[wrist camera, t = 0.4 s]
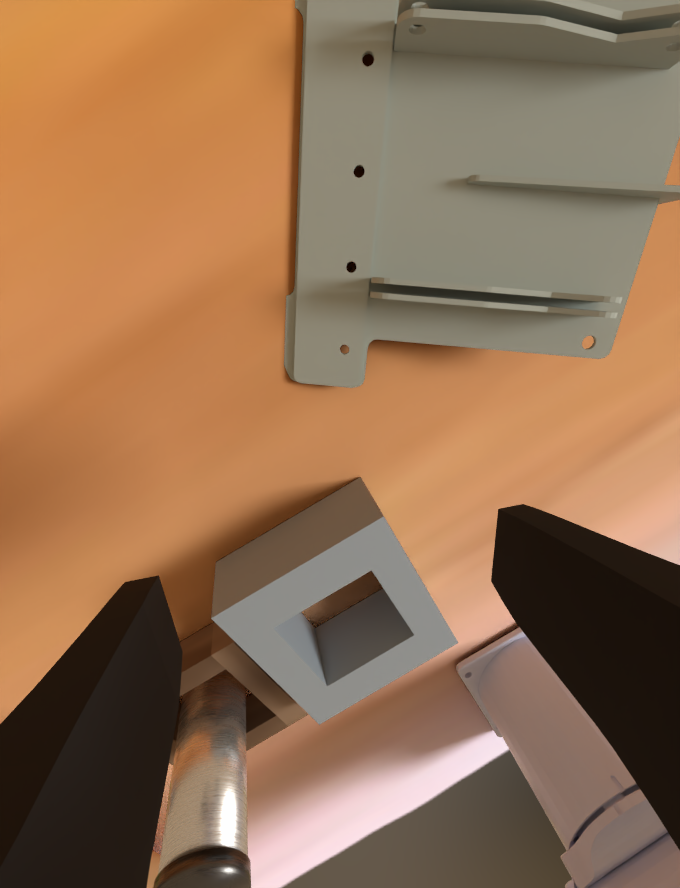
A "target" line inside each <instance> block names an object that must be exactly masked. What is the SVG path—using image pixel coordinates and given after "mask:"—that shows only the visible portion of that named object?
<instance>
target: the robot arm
mask: <svg viewBox="0 0 680 888" xmlns="http://www.w3.org/2000/svg"><path fill="white" fill-rule="evenodd" d="M491 582H492V583H493V585H494V587H495V589H496V590H497V592H498V594H499V596H500V597H501V599H502V601H503V602H504V604H505V606H506V607H507V609H508V611H509V612H510V614H511V615H512V617H513V619H514V620H515V622H516V623H517V624H518V626H519V628H517V629H515V630H514V631H512V632H510V633H508V634H507V635H505V636H503V637H502V638H500V639H498V640H497V641H495V642H493V643H491V644H490V645H488V646H486V647H485V648H483V649H481V650H480V651H478V652H476V653H474V654H473V655H471V656H469V657H468V658H466V659H464V660H463V661H461V662H459V663H458V664H457V666H456V670H457V672H458V674H459V676H460V677H461V679H462V681H463V682H464V684H465V685H466V687H467V688H468V690H469V692H470V693H471V695H472V696H473V698H474V700H475V701H476V703H477V704H478V706H479V708H480V709H481V711H482V712H483V714H484V716H485V717H486V719H487V720H488V722H489V724H490V725H491V727H492V728H493V730H494V732H495V733H496V735H497V736H498V737H503V739H504V740H505V742H506V744H507V746H508V747H509V749H510V751H511V753H512V755H513V756H514V758H515V760H516V762H517V763H518V765H519V767H520V769H521V770H522V772H523V774H524V775H525V777H526V779H527V781H528V783H529V785H530V786H531V788H532V790H533V791H534V793H535V795H536V797H537V799H538V800H539V802H540V804H541V806H542V807H543V809H544V811H545V813H546V815H547V816H548V818H549V820H550V822H551V823H552V825H553V827H554V828H555V830H556V832H557V834H558V836H559V837H560V839H561V841H562V843H563V844H564V846H565V848H566V850H567V851H566V852H565V853H564V854H563V855H562V856H561V859H562V860H563V863H564V865H565V866H566V868H567V870H568V872H569V873H570V875H571V877H572V880H571V881H569V882H568V883H567V884H566V885H565V888H680V565H677V564H675V563H672V562H669V561H667V560H664V559H661V558H659V557H656V556H654V555H651V554H648V553H646V552H643V551H641V550H638V549H636V548H633V547H631V546H628V545H626V544H623V543H621V542H618V541H616V540H613V539H611V538H608V537H606V536H604V535H601V534H599V533H596V532H594V531H591V530H589V529H587V528H584V527H582V526H579V525H577V524H574V523H572V522H570V521H567V520H565V519H562V518H560V517H557V516H555V515H552V514H549V513H547V512H544V511H542V510H539V509H536V508H533V507H530V506H527V505H524V504H522V505H516V506H511V507H506V508H501V509H498V518H497V528H496V538H495V548H494V558H493V568H492V578H491ZM182 655H183V651H182V648H181V645H180V642H179V639H178V635H177V632H176V629H175V626H174V623H173V619H172V616H171V613H170V610H169V607H168V604H167V600H166V597H165V594H164V591H163V588H162V585H161V581H160V578H159V576H154V577H149V578H144V579H139V580H134V581H129V582H125V583H124V584H123V585H122V586H121V587H120V588H119V590H118V591H117V592H116V593H115V594H114V595H113V597H112V598H111V599H110V600H109V601H108V602H107V604H106V605H105V606H104V607H103V608H102V610H101V611H100V612H99V613H98V614H97V616H96V617H95V618H94V619H93V620H92V622H91V623H90V624H89V625H88V626H87V627H86V629H85V630H84V631H83V632H82V633H81V635H80V636H79V637H78V638H77V639H76V640H75V642H74V643H73V644H72V645H71V646H70V647H69V648H68V650H67V651H66V652H65V653H64V654H63V655H62V657H61V658H60V659H59V660H58V661H57V662H56V664H55V665H54V666H53V667H52V668H51V669H50V670H49V672H48V673H47V674H46V675H45V676H44V677H43V679H42V680H41V681H40V682H39V683H38V684H37V685H36V686H35V688H34V689H33V690H32V691H31V692H30V693H29V694H28V695H27V696H26V697H25V698H24V699H23V700H22V702H21V703H20V704H19V705H18V706H17V707H16V708H15V709H14V710H13V711H12V712H11V713H10V714H9V716H8V717H7V718H6V719H5V720H4V721H3V722H2V723H1V724H0V888H147V882H148V875H149V868H150V862H151V856H152V851H153V846H154V840H155V835H156V829H157V824H158V819H159V813H160V808H161V803H162V797H163V792H164V786H165V781H166V776H167V770H168V765H169V760H170V754H171V749H172V743H173V738H174V732H175V727H176V721H177V715H178V709H179V699H180V687H181V672H182Z"/></svg>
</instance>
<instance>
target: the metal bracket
mask: <svg viewBox="0 0 680 888" xmlns="http://www.w3.org/2000/svg"><path fill="white" fill-rule="evenodd" d="M295 8H296V9H298V10H299V11H300V13H301V15H302V16H303V22H304V26H303V55H302V84H301V114H300V143H299V172H298V202H297V231H296V260H295V287H294V290H293V292H292V293H291V294H290V295H287V296H286V322H285V354H284V366H285V368H286V370H287V373H288V375H289V377H290V378H291V379H292V380H293V381H296V382H299V383H305V384H316V385H327V386H338V387H349V388H353V387H358V386H360V385H361V384H363V382H364V379H365V369H366V359H367V349H368V346H369V343H370V342H372V341H373V340H377V339H378V340H390V341H401V342H412V343H424V344H435V345H446V346H458V347H469V348H481V349H492V350H503V351H515V352H526V353H538V354H549V355H560V356H572V357H583V358H595V359H601V358H605V357H606V356H607V355H609V353H610V351H611V349H612V346H613V343H614V340H615V337H616V333H617V330H618V327H619V324H620V321H621V318H622V315H623V312H624V308H625V305H626V302H627V299H628V296H629V293H630V290H631V287H632V283H633V280H634V277H635V274H636V271H637V268H638V265H639V262H640V258H641V255H642V252H643V249H644V246H645V243H646V240H647V237H648V233H649V230H650V227H651V224H652V221H653V218H654V215H655V212H656V208H657V205H658V204H662V203H667V202H671V201H676V200H680V186H677V185H664V184H665V180H666V177H667V174H668V171H669V168H670V165H671V162H672V159H673V155H674V152H675V149H676V146H677V143H678V140H679V137H680V0H295ZM366 54H371V55H372V56H373V58H374V62H373V64H372V65H371V66H368V67H367V66H365V65H364V64H363V62H362V59H363V57H364V56H365V55H366ZM357 166H361V167H363V169H364V171H365V172H364V175H363V176H362V177H360V178H358V177H355V175H354V169H355V168H356V167H357ZM349 262H354V263H355V264H356V267H357V268H356V270H355V271H354V272H352V273H350V272H348V271H347V269H346V266H347V264H348V263H349ZM587 336H592V337H593V338H594V343H593V345H592V346H591V347H590V348H588V349H584V348H583V347H582V341H583V339H584V338H585V337H587ZM342 345H347V346H348V347H349V352H348V353H347V354H343V353H342V352H341V351H340V347H341V346H342Z"/></svg>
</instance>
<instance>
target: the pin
mask: <svg viewBox="0 0 680 888" xmlns="http://www.w3.org/2000/svg"><path fill="white" fill-rule="evenodd" d="M153 888H251V869H250V859H249V858H248V848H247V765H246V687H245V686H244V685H243V684H242V683H241V682H239V681H238V680H237V679H236V678H235V677H234V676H233V675H232V674H231V673H230V672H228V671H227V670H224V671H222V672H220V673H219V674H217V675H215V676H214V677H212V678H210V679H209V680H207V681H205V682H203V683H202V684H200V685H198V686H197V687H195V688H193V689H192V690H190V691H188V692H187V693H185V694H183V697H182V704H181V711H180V718H179V726H178V733H177V740H176V747H175V755H174V762H173V769H172V776H171V784H170V791H169V798H168V806H167V813H166V820H165V827H164V835H163V842H162V849H161V856H160V864H159V871H158V875H157V877H156V878H155V881H154V886H153Z"/></svg>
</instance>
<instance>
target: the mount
mask: <svg viewBox="0 0 680 888" xmlns="http://www.w3.org/2000/svg"><path fill="white" fill-rule="evenodd" d="M180 645H181V648H182V651H183V655H182V672H181V687H180V696H181V695H183V694H185V693H187V692H188V691H190V690H192V689H193V688H195V687H197V686H198V685H200V684H202V683H203V682H205V681H207V680H209V679H210V678H212V677H214V676H215V675H217V674H219V673H220V672H222V671H224V670H227V671H228V672H230V673H231V674H232V675H233V676H234V677H235V678H236V679H237V680H238V681H239V682H241V683H242V684H243V685H244V686H245V687H246V688H247V689H248V690H249V691H250V692H251V693H253V694H251V695H250V696H248V697H246V751H247V750H249V749H251V748H252V747H254V746H256V745H257V744H259V743H261V742H262V741H264V740H266V739H268V738H269V737H271V736H273V735H274V734H276V733H278V732H279V731H281V730H283V729H285V728H286V727H288V726H290V725H291V724H293V723H295V722H296V721H298V720H300V719H301V718H303V717H305V716H307V712H306V711H305V710H304V709H303V708H302V707H301V706H300V705H299V704H298V703H297V702H296V701H295V700H294V699H293V698H292V697H291V696H290V695H289V694H288V693H287V692H286V691H285V690H284V689H283V688H282V687H281V686H280V685H278V684H277V683H276V682H275V681H274V680H273V679H272V678H271V677H270V676H269V675H268V674H267V673H266V672H265V671H264V670H263V669H262V668H261V667H260V666H259V665H258V664H257V663H256V662H255V661H254V660H253V659H252V658H251V657H250V656H249V655H248V654H247V653H246V652H245V651H244V650H243V649H242V648H241V647H240V646H239V645H238V644H237V643H236V642H235V641H234V640H233V639H232V638H231V637H230V636H229V635H228V634H227V633H226V632H225V631H224V630H222V629H221V628H220V627H219V626H218V625H217V624H216V623H215V622H213V623H211V624H210V625H208V626H206V627H205V628H203V629H201V630H200V631H198V632H196V633H195V634H193V635H191V636H189V637H188V638H186V639H184V640H183V641H181V642H180ZM180 711H181V703H180V702H179V709H178V715H177V721H176V727H175V732H174V738H173V743H172V749H171V754H170V760H169V763H170V764H172V765H173V762H174V755H175V747H176V740H177V733H178V726H179V718H180Z"/></svg>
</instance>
